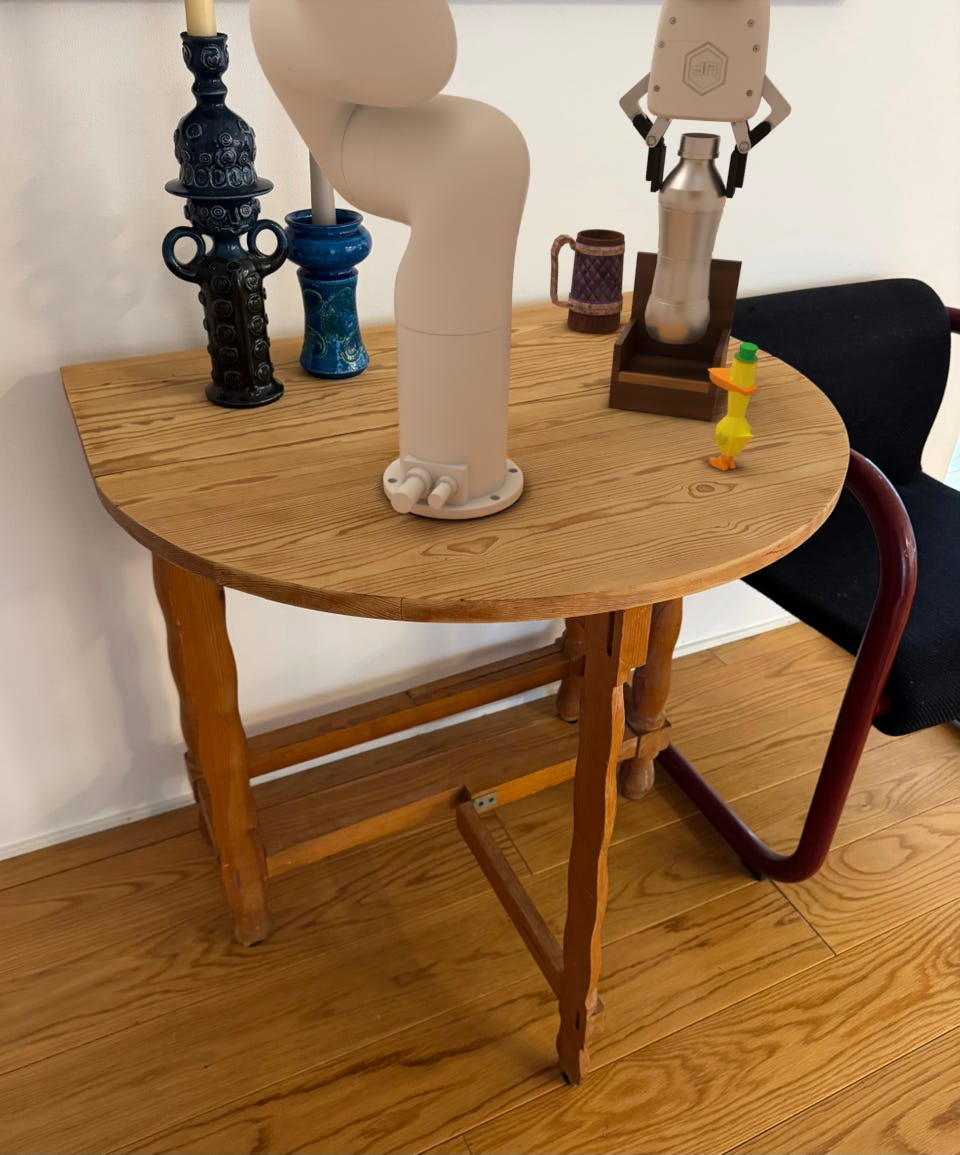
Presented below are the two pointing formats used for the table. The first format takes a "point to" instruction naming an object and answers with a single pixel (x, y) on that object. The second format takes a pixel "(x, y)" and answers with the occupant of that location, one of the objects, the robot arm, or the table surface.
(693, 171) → the silver water bottle
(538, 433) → the table surface
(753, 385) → the toy figure
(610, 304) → the mug
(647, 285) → the wooden chair
